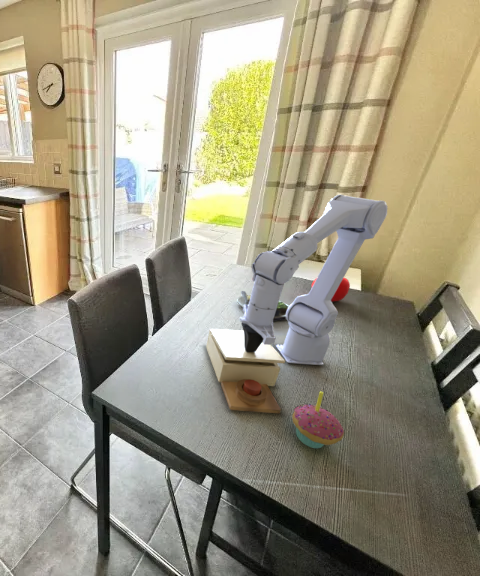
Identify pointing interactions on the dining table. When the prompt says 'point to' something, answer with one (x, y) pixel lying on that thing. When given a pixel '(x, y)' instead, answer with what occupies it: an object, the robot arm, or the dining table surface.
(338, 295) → the tomato
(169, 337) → the dining table surface
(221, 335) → the lid
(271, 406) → the wooden base board
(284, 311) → the salad plate
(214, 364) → the bin
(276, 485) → the dining table surface
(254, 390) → the button
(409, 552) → the dining table surface
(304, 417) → the cupcake
